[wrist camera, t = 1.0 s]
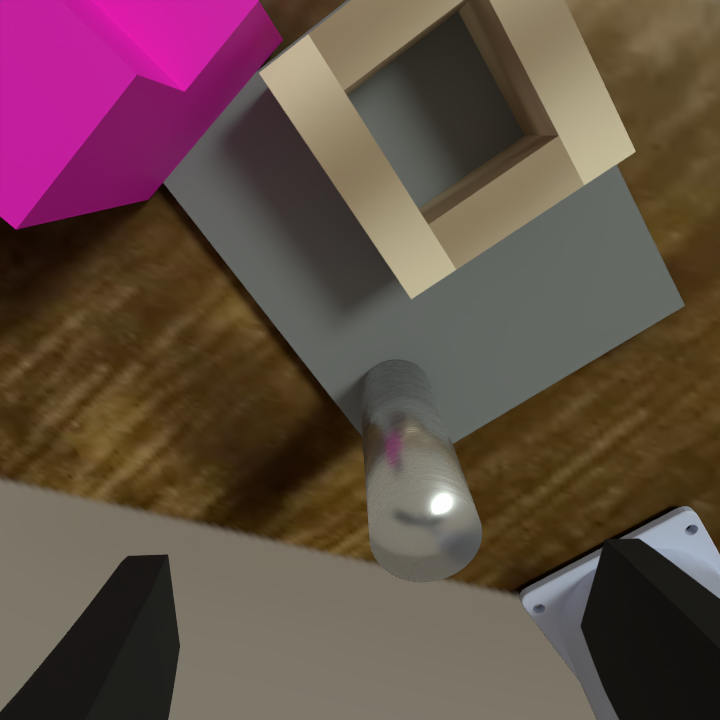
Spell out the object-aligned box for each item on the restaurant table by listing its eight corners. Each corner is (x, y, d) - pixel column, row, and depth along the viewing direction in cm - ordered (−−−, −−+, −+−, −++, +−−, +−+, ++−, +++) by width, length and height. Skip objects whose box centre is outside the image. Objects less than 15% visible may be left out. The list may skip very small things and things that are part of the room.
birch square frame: (589, 148, 18) (635, 151, 15) (401, 275, 19) (411, 299, 16) (477, -77, 16) (507, -123, 13) (272, 83, 17) (258, 72, 14)
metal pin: (444, 400, 21) (502, 548, 13) (385, 437, 21) (409, 598, 14) (406, 345, 20) (445, 469, 13) (345, 384, 21) (347, 526, 13)
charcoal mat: (676, 301, 20) (685, 305, 20) (393, 471, 22) (394, 478, 22) (479, -102, 16) (483, -109, 15) (150, 158, 18) (145, 159, 18)
